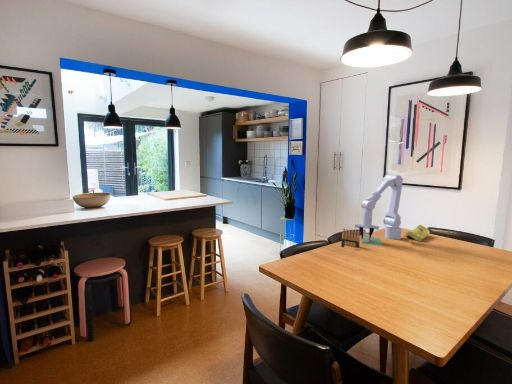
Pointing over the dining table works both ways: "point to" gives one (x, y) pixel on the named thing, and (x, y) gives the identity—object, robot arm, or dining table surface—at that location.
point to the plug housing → (365, 236)
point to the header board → (373, 241)
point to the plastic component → (418, 233)
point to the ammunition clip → (350, 238)
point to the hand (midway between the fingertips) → (365, 239)
